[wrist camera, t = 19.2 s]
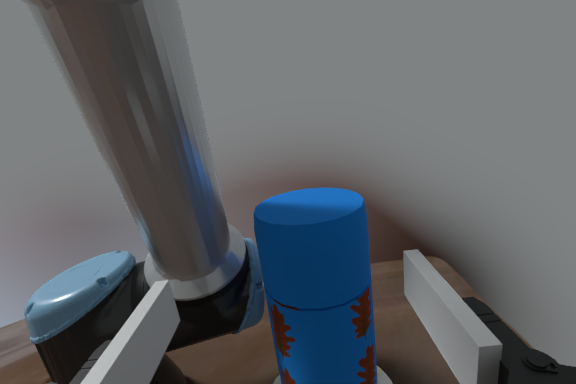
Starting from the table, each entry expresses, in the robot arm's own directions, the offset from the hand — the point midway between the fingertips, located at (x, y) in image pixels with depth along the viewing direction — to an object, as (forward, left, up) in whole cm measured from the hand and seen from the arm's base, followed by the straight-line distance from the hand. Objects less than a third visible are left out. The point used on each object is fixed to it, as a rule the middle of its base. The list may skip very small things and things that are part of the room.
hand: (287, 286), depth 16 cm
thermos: (-10, +8, -25) cm, 28 cm away
